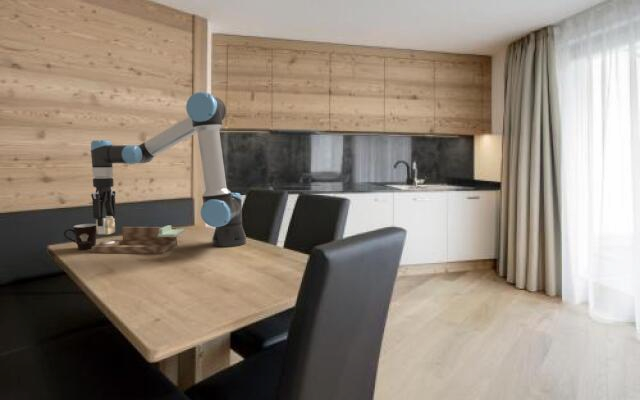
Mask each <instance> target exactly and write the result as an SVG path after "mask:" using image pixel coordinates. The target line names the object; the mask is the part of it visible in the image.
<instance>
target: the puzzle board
mask: <svg viewBox="0 0 640 400" xmlns="http://www.w3.org/2000/svg"><path fill="white" fill-rule="evenodd" d="M163 227H164V226H155V227H154V226H122V228H121V229H122V230H121V231H122V232H121V234H122V239H109V240H104V241H101V242H99V243H98V244H96V245H95V246H92V249H91V253H94V254H98V253H99V254H104V253H105V254H165V253H167V252H169V251H170V250H172V249H174V248H176V247H178V235H177V236H175V237H158V234H159V229H160V228H163ZM177 228H178V227H177V226H171V229H177Z"/></svg>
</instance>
